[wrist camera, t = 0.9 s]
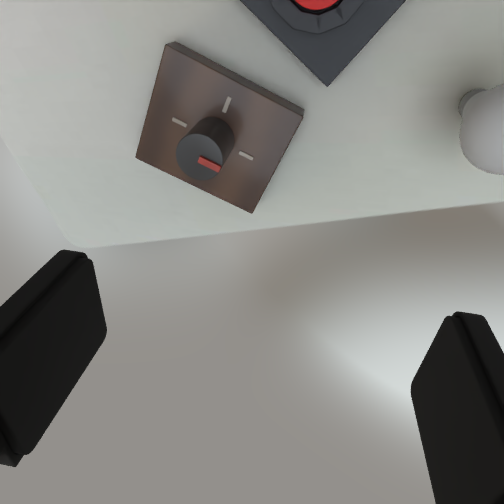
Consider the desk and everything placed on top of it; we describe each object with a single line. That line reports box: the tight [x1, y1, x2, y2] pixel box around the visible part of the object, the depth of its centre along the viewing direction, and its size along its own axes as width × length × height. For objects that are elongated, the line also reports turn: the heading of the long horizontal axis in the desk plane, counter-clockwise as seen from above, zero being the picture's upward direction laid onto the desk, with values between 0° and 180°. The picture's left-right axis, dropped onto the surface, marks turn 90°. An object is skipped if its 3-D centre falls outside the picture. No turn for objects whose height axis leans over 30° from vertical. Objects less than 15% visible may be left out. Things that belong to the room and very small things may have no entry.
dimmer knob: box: [176, 117, 234, 180], centre depth 32 cm, size 4×4×5 cm
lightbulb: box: [459, 84, 504, 175], centre depth 27 cm, size 6×6×11 cm
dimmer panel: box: [135, 42, 304, 213], centre depth 35 cm, size 13×11×3 cm
